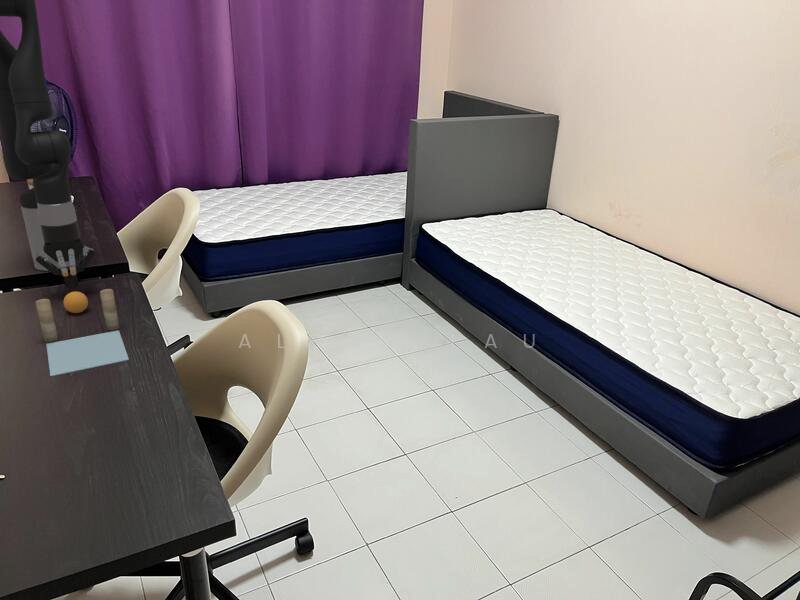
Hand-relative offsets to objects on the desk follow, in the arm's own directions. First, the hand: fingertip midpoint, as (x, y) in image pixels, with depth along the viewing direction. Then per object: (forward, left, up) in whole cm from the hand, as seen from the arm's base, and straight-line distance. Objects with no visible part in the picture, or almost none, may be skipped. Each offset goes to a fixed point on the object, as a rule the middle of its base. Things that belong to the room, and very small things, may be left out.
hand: (72, 288), depth 145 cm
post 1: (+21, -6, -2) cm, 22 cm away
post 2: (+21, +6, -2) cm, 22 cm away
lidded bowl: (-90, 0, -3) cm, 90 cm away
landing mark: (+30, 0, -2) cm, 30 cm away
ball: (+9, 0, 0) cm, 9 cm away
